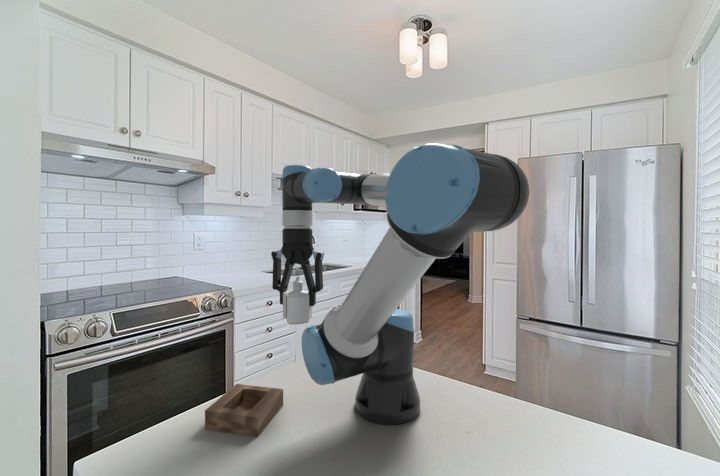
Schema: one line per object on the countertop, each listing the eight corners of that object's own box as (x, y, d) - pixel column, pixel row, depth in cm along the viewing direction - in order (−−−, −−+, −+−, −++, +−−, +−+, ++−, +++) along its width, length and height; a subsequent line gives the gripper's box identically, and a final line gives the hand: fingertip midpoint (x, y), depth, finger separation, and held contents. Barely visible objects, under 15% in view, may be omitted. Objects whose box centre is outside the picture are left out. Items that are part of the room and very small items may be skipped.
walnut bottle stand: (283, 405, 81) (283, 389, 81) (258, 436, 69) (258, 417, 69) (236, 400, 83) (236, 383, 83) (205, 429, 72) (204, 410, 72)
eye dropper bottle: (305, 325, 86) (305, 278, 86) (284, 324, 87) (284, 277, 87) (311, 320, 91) (311, 275, 90) (290, 319, 92) (290, 274, 91)
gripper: (336, 227, 90) (336, 315, 91) (270, 227, 93) (271, 311, 94) (328, 228, 82) (327, 324, 83) (256, 227, 86) (257, 319, 87)
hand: (297, 317), depth 89 cm, fingers closed on eye dropper bottle, 5 cm apart
